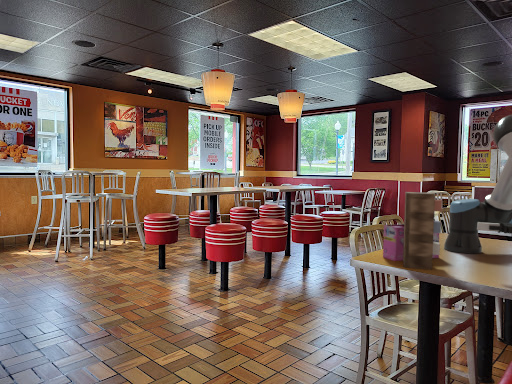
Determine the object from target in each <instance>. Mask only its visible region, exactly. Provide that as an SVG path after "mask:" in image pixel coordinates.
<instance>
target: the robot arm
mask: <svg viewBox="0 0 512 384" xmlns="http://www.w3.org/2000/svg"><path fill="white" fill-rule="evenodd" d="M492 131H493V132H492V138H493V141H494V143H495V145H496V146H497V148H498V149H499V150H500V151H501V152H504V153H505V154H506V155H507V156H508V158H507V160H506V162H505V164H504V167H503V168H502V170H501V173H500V175H499V177H498V179H497V181H496V183H495V185H494V188H493V191H492V192H491V194H487V195H486V196H485V198H484V200H483V202H482V201H480V200H479V199H478V198H477V199H476V198H467V199H466V198H465V199H457V200H453V201H452V202H451V203H450V206H449V222H448V223H449V227H448V229H449V230H448V234H447V237H446V239H445V242H444V244H443V245H444V246H443V248H444V250H445V251H450V252H454V253H460V254H461V253H462V254H481V253H482V249H483V246H482V244H481V241H480V238H479V231H480V232H481V231H482V232H497V233H498V234H500V233H504V234H509V235H510V234H511V235H512V114H509V115H506V116H505V117H502V118H500V119H499V121H498V122H496V124H495V126H494V128H493V130H492Z"/></svg>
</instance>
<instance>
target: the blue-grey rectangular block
mask: <svg viewBox="0 0 512 384" xmlns="http://www.w3.org/2000/svg"><path fill="white" fill-rule="evenodd" d="M441 231H442V222H441V221H440V220H434V233H439V234H441Z"/></svg>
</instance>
